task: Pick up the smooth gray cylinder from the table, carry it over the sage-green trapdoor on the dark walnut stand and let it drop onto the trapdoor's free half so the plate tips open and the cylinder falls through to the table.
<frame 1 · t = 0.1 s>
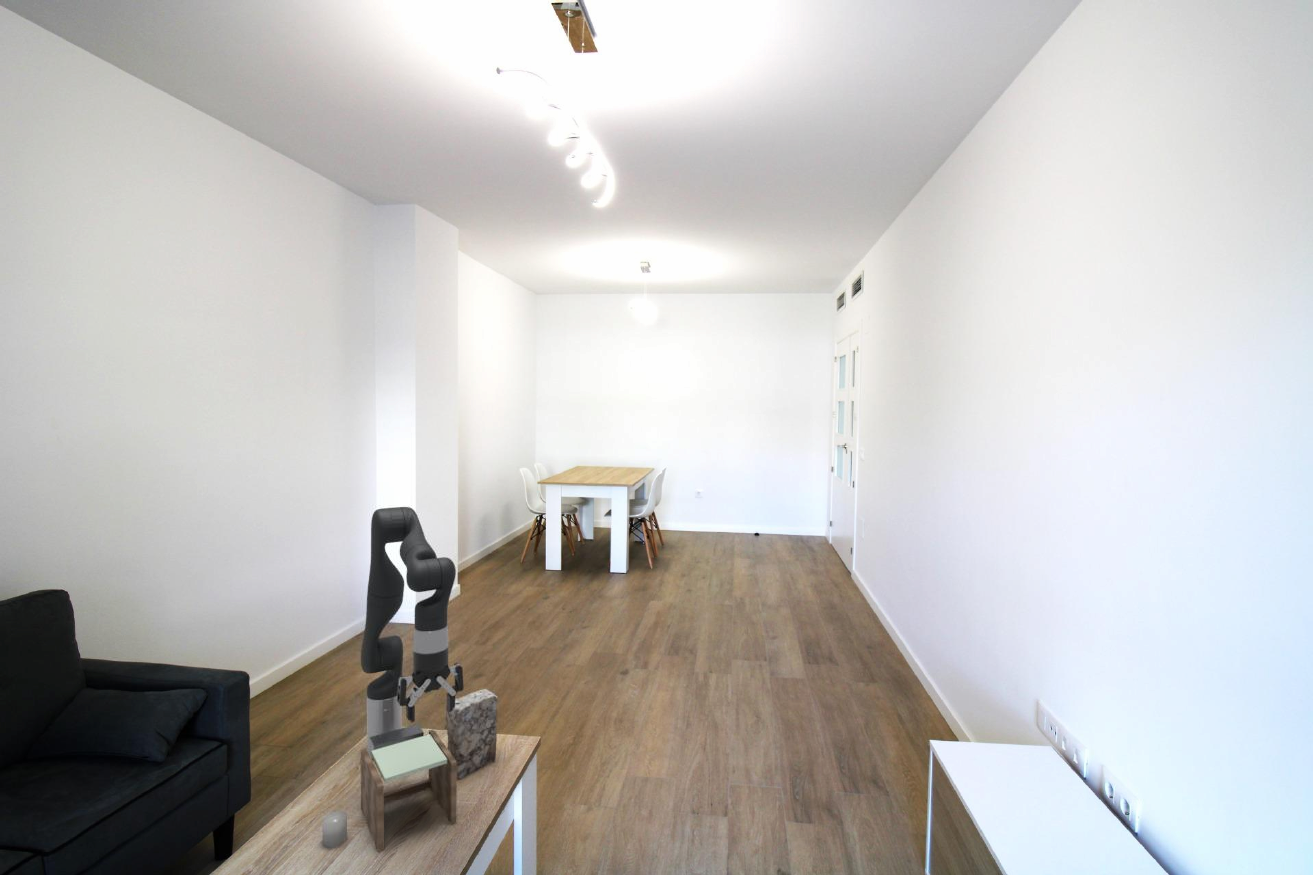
hand: (430, 715, 143), 29 cm above the table, fingers open, 8 cm apart
trapdoor: (405, 754, 154), point 14 cm above the table, hinge at 0.0°
smooth gray cylinder: (335, 840, 144), on the table
stone block: (472, 768, 174), on the table
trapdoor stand: (408, 817, 152), on the table
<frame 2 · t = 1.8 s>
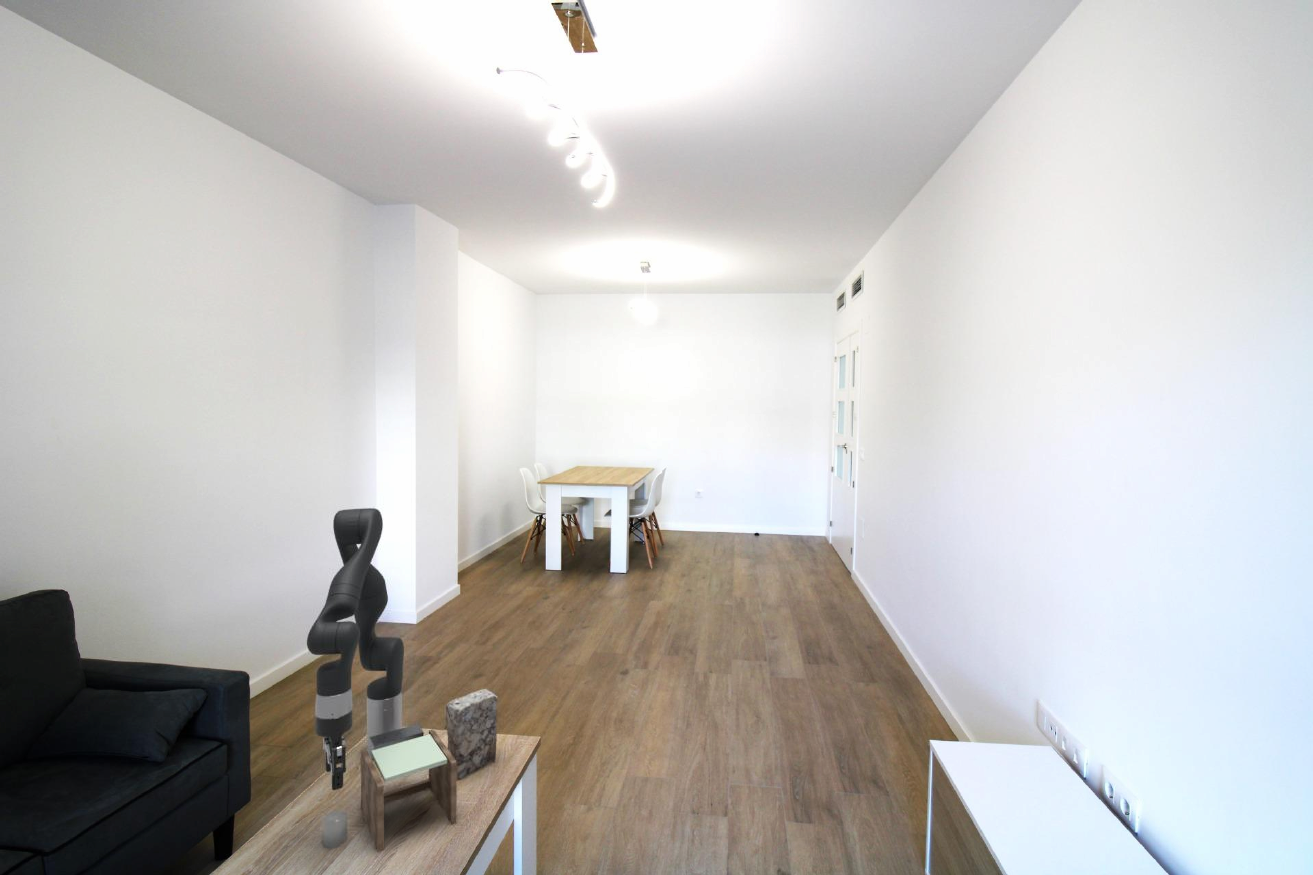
hand: (334, 779, 143), 14 cm above the table, fingers open, 8 cm apart
nothing on the table moved.
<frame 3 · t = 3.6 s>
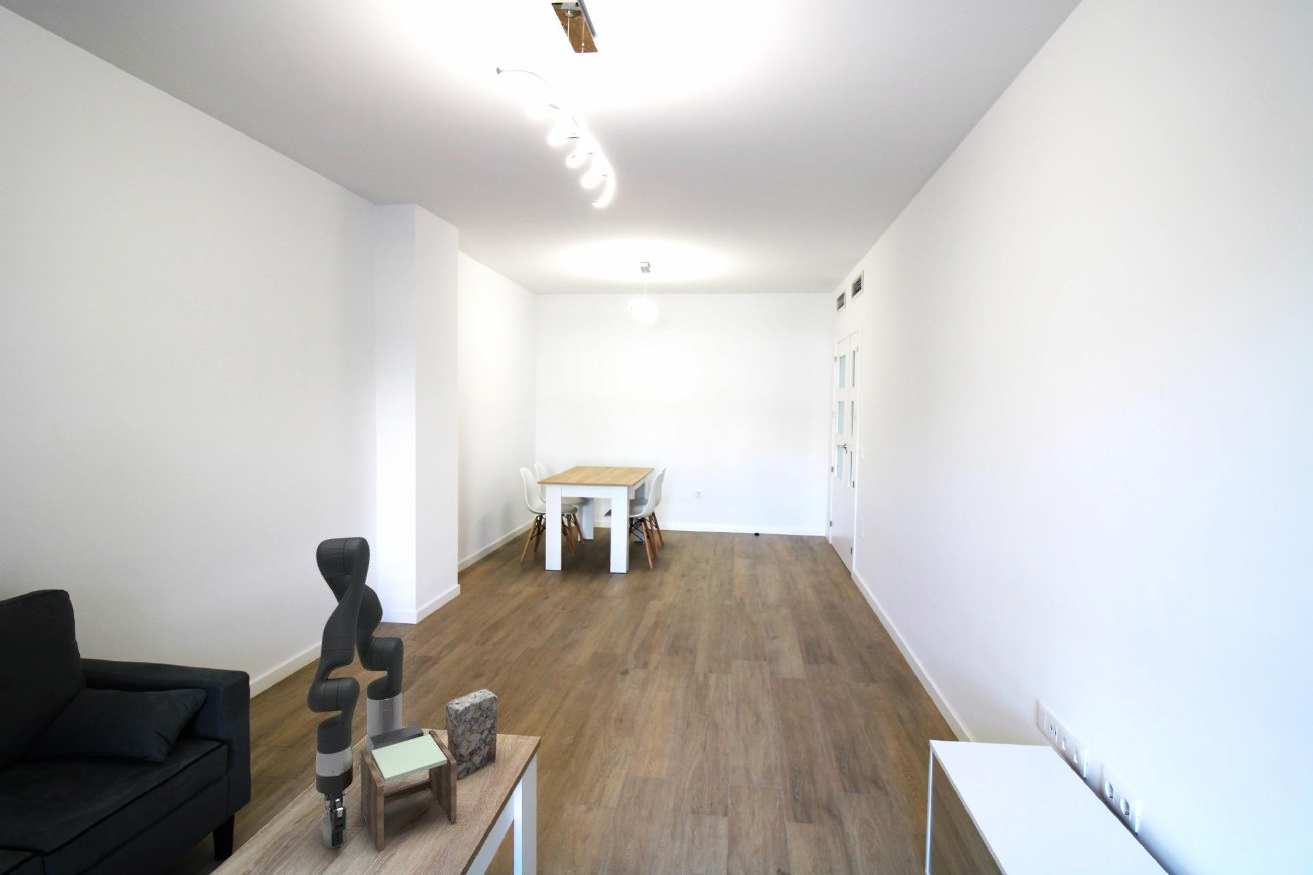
hand: (334, 836, 144), 1 cm above the table, fingers closed on smooth gray cylinder, 5 cm apart
smooth gray cylinder: (335, 840, 144), on the table, touching gripper
everything else where it was.
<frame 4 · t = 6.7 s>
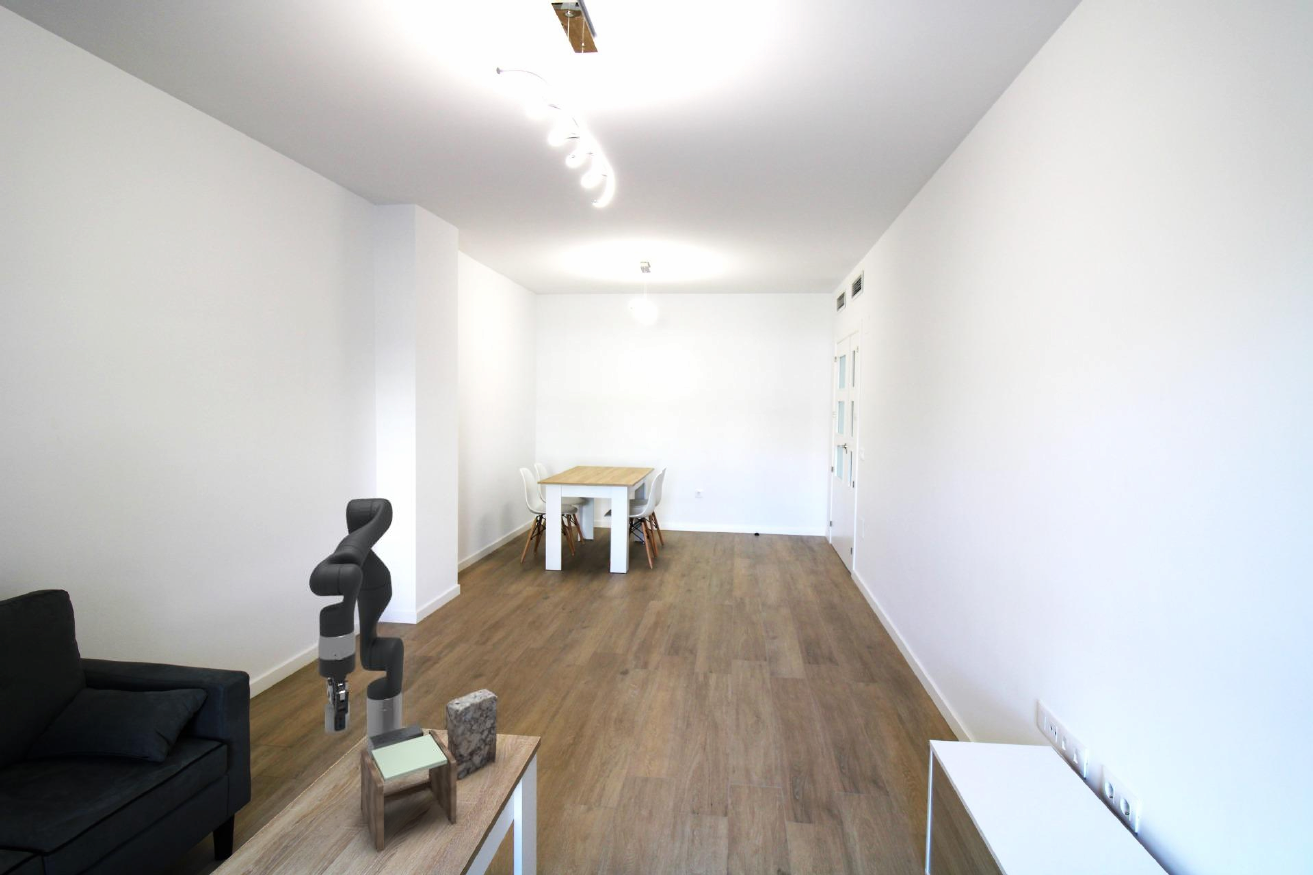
hand: (337, 724, 143), 27 cm above the table, fingers closed on smooth gray cylinder, 5 cm apart
smooth gray cylinder: (337, 727, 143), point 26 cm above the table, touching gripper
everything else where it was.
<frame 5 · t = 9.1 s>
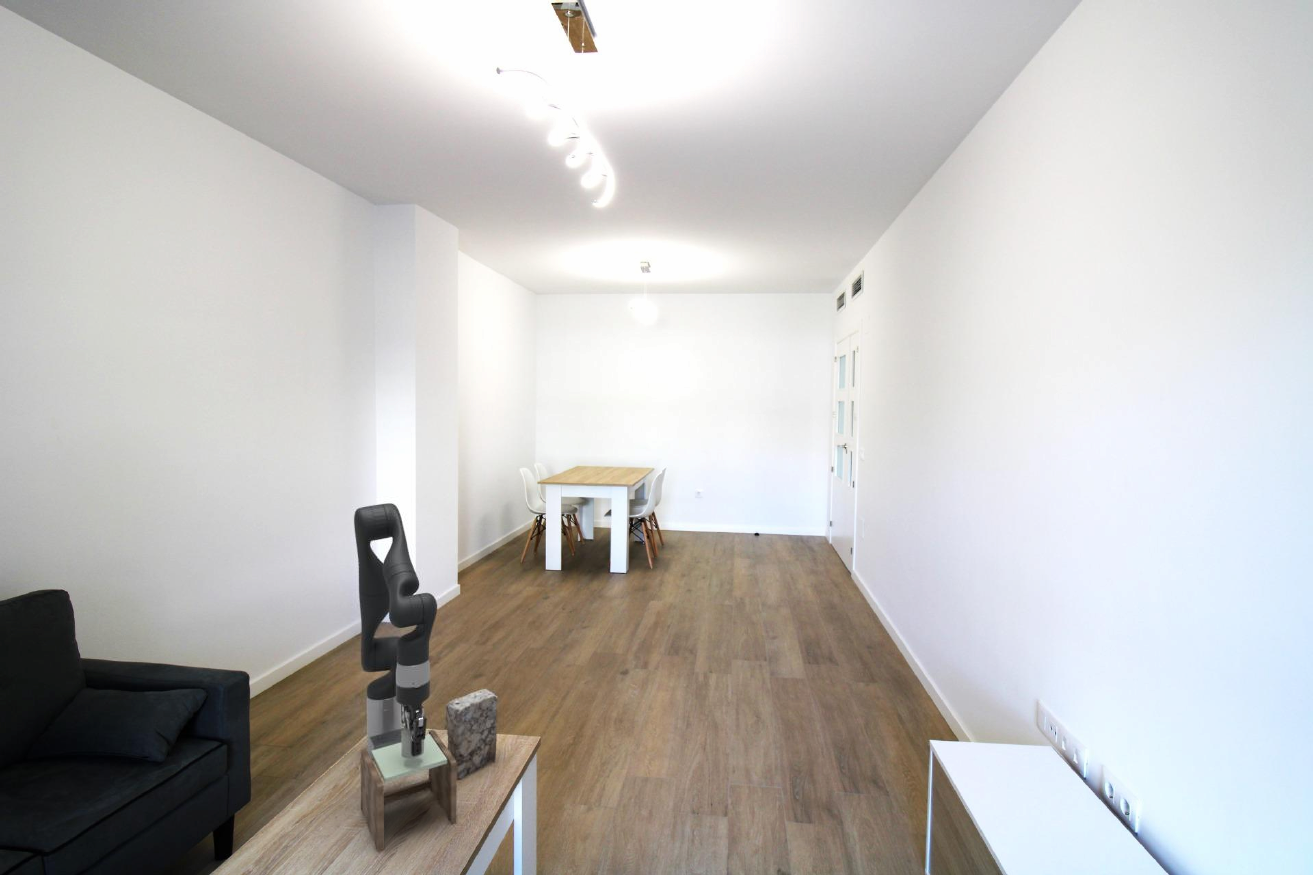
hand: (413, 748, 148), 19 cm above the table, fingers closed on smooth gray cylinder, 5 cm apart
smooth gray cylinder: (412, 752, 148), point 18 cm above the table, touching gripper
everything else where it was.
when the fingers open (19 cm above the table, at t = 9.8 s): smooth gray cylinder drops 12 cm and tips over, point 6 cm above the table.
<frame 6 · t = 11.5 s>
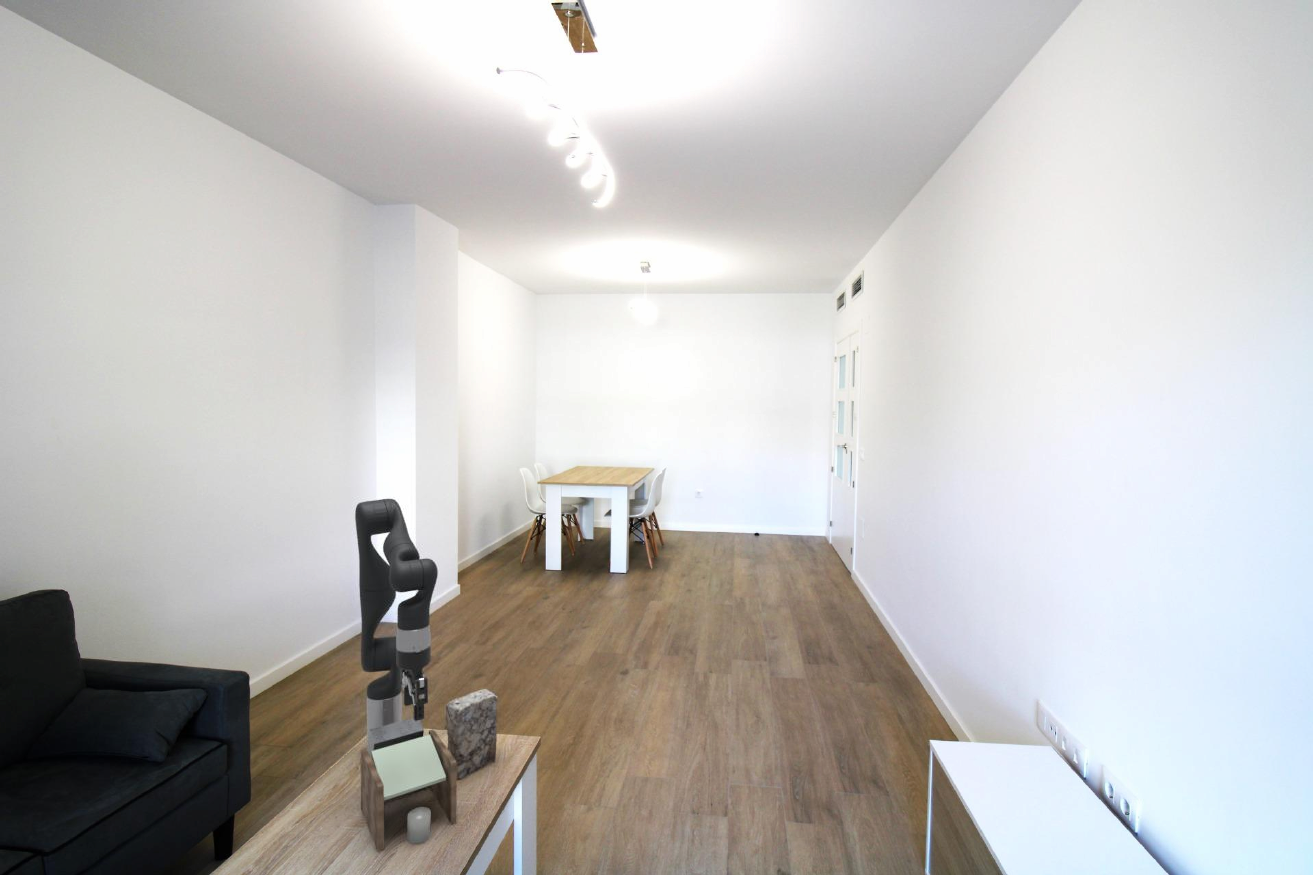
hand: (413, 711, 148), 28 cm above the table, fingers open, 8 cm apart
trapdoor: (404, 757, 155), point 13 cm above the table, hinge at -19.4°
smooth gray cylinder: (419, 813, 145), point 6 cm above the table, tilted 178°
everything else where it was.
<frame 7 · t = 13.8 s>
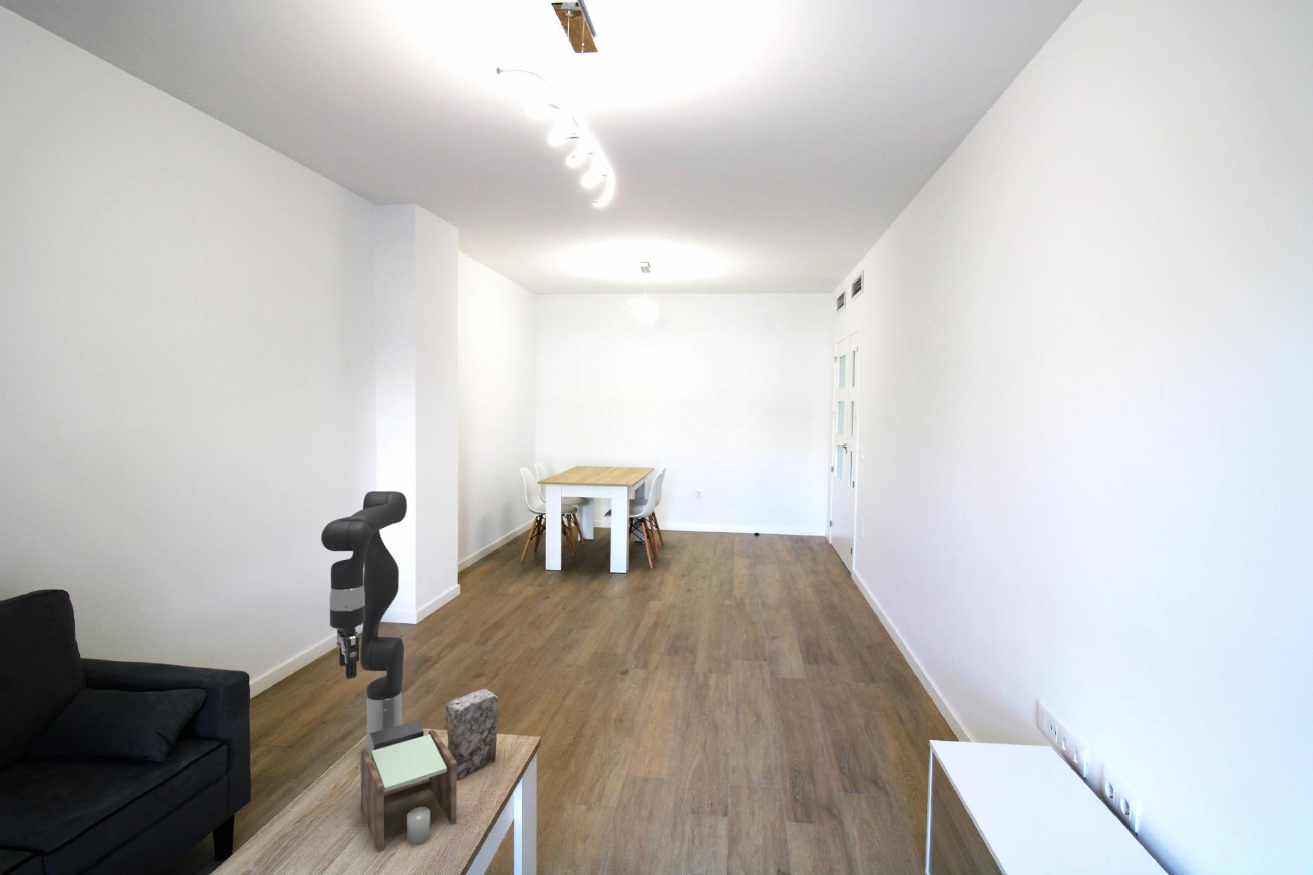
hand: (347, 671, 150), 36 cm above the table, fingers open, 8 cm apart
trapdoor: (404, 756, 155), point 13 cm above the table, hinge at -9.1°
everything else where it was.
at the end: smooth gray cylinder point 5.6 cm above the table; the gripper is holding nothing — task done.
